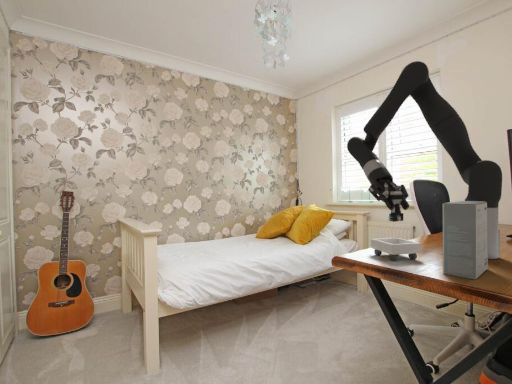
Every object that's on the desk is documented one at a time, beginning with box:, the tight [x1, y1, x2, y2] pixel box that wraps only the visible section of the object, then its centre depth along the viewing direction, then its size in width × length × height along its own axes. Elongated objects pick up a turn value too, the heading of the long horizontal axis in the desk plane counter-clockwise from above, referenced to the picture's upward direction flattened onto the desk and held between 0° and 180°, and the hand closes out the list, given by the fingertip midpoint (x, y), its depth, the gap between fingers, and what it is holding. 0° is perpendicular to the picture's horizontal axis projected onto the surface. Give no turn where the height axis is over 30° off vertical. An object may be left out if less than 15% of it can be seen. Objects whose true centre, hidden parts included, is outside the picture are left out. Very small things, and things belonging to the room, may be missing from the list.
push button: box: [387, 192, 405, 223], centre depth 95 cm, size 7×5×10 cm
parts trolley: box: [370, 237, 422, 262], centre depth 96 cm, size 11×11×6 cm
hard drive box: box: [442, 200, 489, 280], centre depth 79 cm, size 16×8×20 cm, turn 131°
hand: (399, 208), depth 93 cm, fingers closed on push button, 5 cm apart
